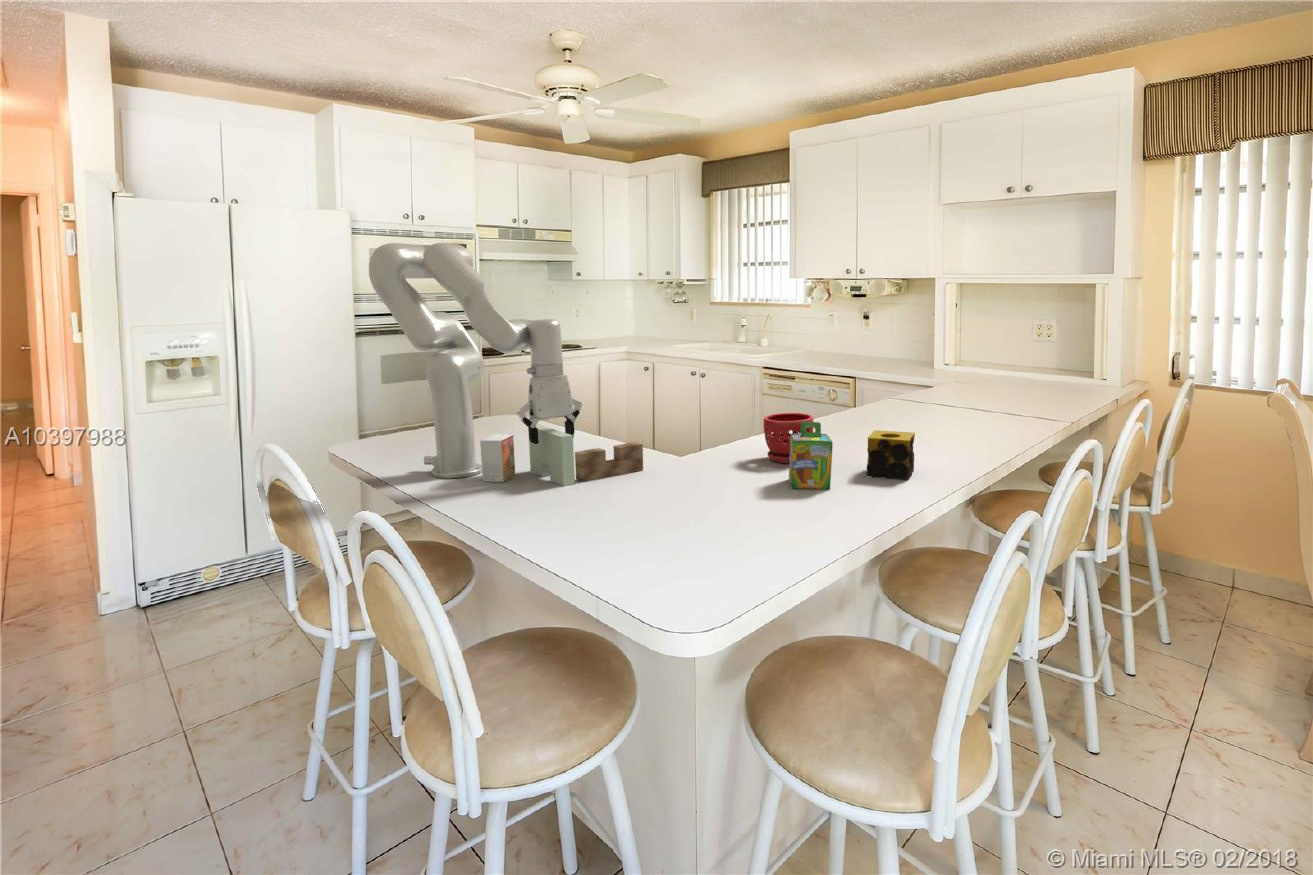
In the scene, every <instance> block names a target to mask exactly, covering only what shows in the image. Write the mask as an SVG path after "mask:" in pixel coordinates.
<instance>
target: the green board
mask: <svg viewBox="0 0 1313 875" xmlns="http://www.w3.org/2000/svg"><path fill="white" fill-rule="evenodd" d="M536 428H538V439H539V443H538V444H534V443H531V441H530V440H529V439H528V449H529V450H528V452H529V466H530V470H529V471H530V472H532V474H533V473H534V474H536V475H538V476H540V477H549V478H550V482H553V483H555V484H558V485H560V486H562V487H567V486H571V485H576V483H575V482H576V474H575V451H574V438H573V435H570V434H567V433H565V431H564V432H563V431H561V430H557V429H555V428H550V427H548V426H546V425H542V424H539V423H537V425H536ZM528 433H529V431H528Z"/></svg>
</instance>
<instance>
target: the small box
mask: <svg viewBox="0 0 1313 875" xmlns="http://www.w3.org/2000/svg"><path fill="white" fill-rule="evenodd" d="M479 443H480V456H481V458H480V459H481V461H480V462H481V466H482V471H481V473H482V482H485V483H487V482H488V483H504V482H506V481H507V480H508V479H510V478H512V477H514V476H516V466H515V463H516V462H515V444H514V443H515V442H514V435H513V434H505V433H504V434H503V433H501V434H500V433H493V434H491V435H489V436H487V437H486V438H484V439H483V438H482V439H481V440H479Z"/></svg>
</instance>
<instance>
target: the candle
mask: <svg viewBox="0 0 1313 875" xmlns="http://www.w3.org/2000/svg"><path fill="white" fill-rule="evenodd" d="M915 435H916V432H913V431H911V432H910V431H909V432H908V431H893V430H873V431H872V433H871V434H870V435H868V437H867V464H866V477H868V476H872V477H871V478H879V477H880V478H881V479H889V480H892V479H893V480H899V479H900V480H902V481H908V480H910V478H911V477H912V475H913V472H914V471H915V452H914V442H915Z"/></svg>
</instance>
